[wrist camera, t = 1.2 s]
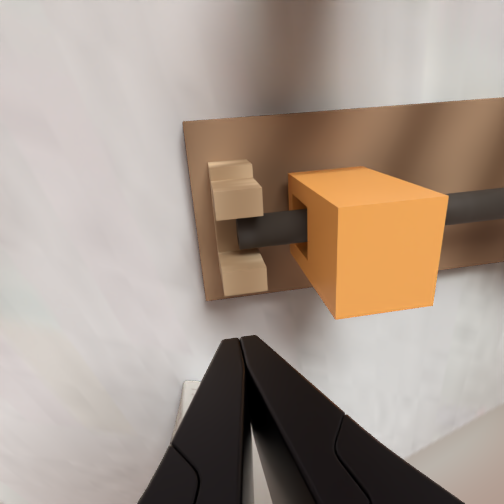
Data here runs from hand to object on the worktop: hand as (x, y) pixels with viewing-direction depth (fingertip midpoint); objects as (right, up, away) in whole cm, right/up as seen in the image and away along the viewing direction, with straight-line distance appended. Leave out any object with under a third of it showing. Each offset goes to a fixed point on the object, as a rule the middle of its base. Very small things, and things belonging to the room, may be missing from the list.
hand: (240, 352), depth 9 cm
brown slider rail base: (+9, +6, +13) cm, 17 cm away
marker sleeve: (+4, +5, +11) cm, 12 cm away
